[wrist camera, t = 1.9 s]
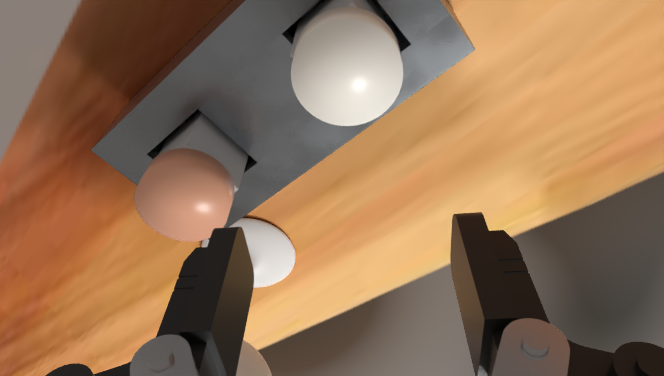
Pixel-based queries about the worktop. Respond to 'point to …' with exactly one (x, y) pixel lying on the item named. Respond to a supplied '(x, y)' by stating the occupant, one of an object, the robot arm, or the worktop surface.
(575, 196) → the worktop surface
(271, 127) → the plunger panel
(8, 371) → the worktop surface
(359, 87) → the white ball knob
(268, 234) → the wineglass
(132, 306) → the worktop surface
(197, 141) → the plunger
